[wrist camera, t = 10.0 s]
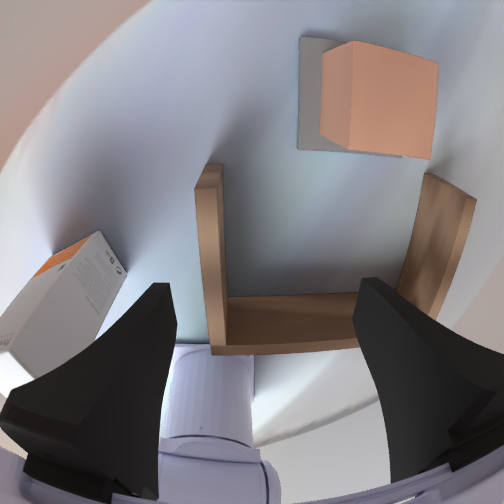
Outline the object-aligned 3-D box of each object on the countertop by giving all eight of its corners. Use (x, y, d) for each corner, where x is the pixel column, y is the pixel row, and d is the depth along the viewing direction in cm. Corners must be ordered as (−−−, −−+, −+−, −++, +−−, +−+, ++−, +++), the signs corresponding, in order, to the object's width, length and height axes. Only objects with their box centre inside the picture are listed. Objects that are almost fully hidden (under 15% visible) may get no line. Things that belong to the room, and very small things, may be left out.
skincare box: (100, 226, 19) (8, 349, 9) (129, 274, 21) (70, 409, 11) (49, 254, 20) (-32, 361, 10) (76, 295, 22) (16, 408, 12)
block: (386, 141, 16) (430, 159, 12) (319, 134, 16) (348, 149, 12) (391, 66, 14) (438, 62, 10) (322, 53, 14) (353, 40, 9)
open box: (403, 297, 24) (427, 336, 19) (215, 307, 23) (211, 355, 19) (434, 174, 18) (476, 199, 14) (205, 164, 18) (194, 188, 13)
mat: (397, 156, 18) (401, 158, 17) (296, 148, 17) (298, 149, 17) (403, 56, 14) (408, 56, 14) (299, 38, 14) (300, 36, 13)
